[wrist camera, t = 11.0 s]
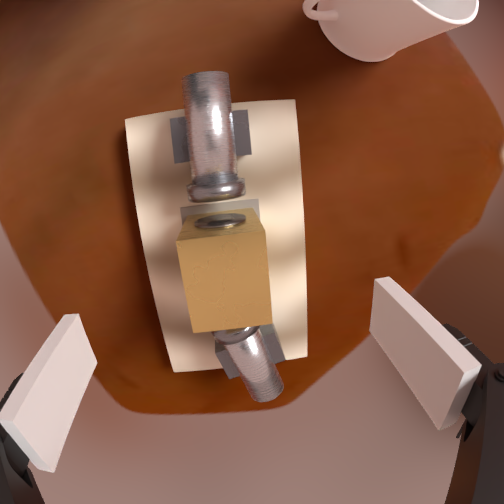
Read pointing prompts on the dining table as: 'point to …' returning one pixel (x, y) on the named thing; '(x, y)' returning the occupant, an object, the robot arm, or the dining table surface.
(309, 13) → the mug
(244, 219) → the wooden block with hole
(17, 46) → the dining table surface
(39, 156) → the dining table surface
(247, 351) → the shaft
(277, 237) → the bench
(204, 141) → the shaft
